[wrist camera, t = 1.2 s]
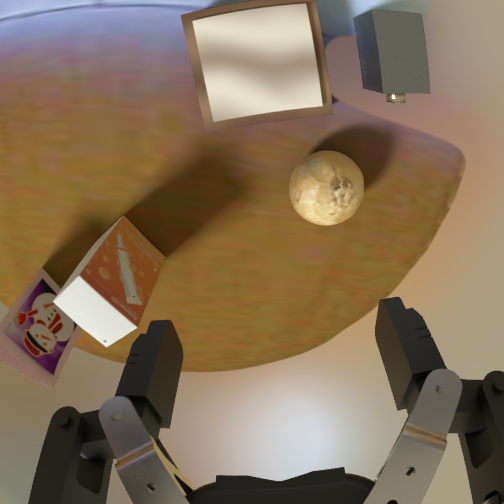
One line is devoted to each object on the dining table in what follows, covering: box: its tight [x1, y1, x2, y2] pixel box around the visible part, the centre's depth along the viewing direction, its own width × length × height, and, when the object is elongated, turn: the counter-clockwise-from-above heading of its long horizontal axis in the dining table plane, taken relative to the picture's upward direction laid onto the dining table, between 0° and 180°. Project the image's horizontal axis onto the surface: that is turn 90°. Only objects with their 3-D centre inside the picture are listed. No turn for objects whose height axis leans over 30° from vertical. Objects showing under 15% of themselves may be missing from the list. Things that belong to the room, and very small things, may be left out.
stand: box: [181, 0, 333, 133], centre depth 26 cm, size 12×12×4 cm
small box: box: [53, 215, 166, 347], centre depth 35 cm, size 8×6×13 cm
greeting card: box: [0, 268, 82, 389], centre depth 40 cm, size 11×7×15 cm, turn 29°
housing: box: [353, 10, 430, 103], centre depth 25 cm, size 9×5×6 cm, turn 10°
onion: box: [289, 150, 364, 225], centre depth 32 cm, size 8×8×7 cm
